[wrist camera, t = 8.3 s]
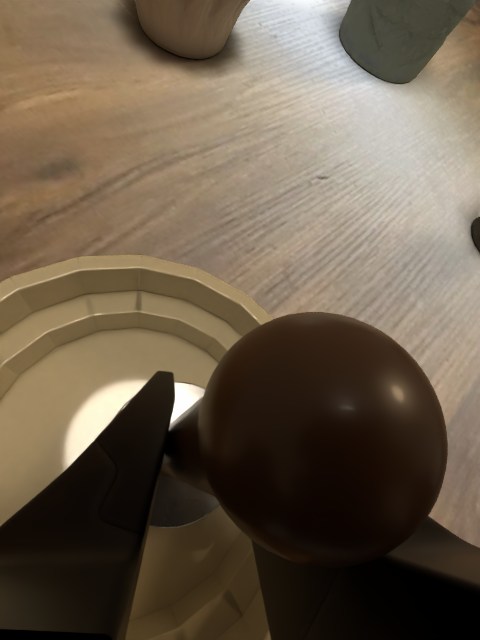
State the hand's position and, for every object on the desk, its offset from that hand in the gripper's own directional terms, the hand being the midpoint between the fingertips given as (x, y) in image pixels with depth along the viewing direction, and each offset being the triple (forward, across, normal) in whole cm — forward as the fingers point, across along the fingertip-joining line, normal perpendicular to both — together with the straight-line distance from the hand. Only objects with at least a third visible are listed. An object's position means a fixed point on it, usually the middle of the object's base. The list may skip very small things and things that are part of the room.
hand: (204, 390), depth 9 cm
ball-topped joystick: (+4, 0, +6) cm, 7 cm away
